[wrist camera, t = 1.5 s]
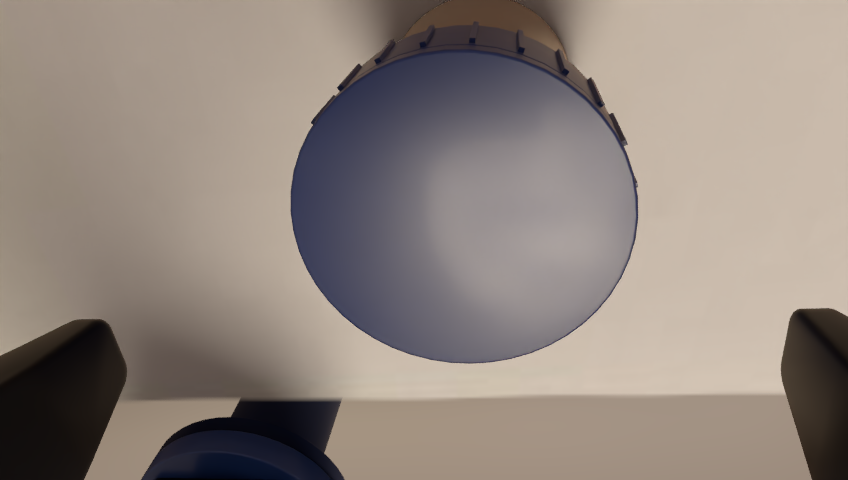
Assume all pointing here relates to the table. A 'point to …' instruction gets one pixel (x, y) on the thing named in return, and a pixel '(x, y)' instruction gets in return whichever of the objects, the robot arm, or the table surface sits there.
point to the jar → (490, 19)
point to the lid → (465, 196)
